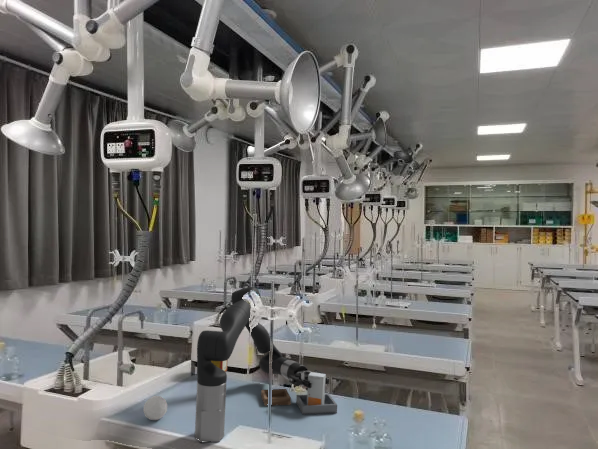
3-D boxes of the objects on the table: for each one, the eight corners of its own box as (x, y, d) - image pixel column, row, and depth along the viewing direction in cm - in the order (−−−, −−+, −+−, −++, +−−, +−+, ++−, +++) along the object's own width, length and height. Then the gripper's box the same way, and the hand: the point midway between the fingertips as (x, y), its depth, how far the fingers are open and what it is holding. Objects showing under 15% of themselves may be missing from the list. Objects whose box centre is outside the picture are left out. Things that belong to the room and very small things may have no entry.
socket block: (290, 404, 171) (290, 398, 171) (264, 405, 169) (265, 399, 169) (285, 395, 180) (286, 388, 180) (261, 396, 178) (261, 389, 178)
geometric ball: (148, 428, 152) (134, 410, 151) (162, 411, 159) (148, 394, 158) (162, 422, 148) (148, 403, 147) (176, 405, 156) (162, 387, 155)
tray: (336, 412, 165) (337, 404, 165) (302, 414, 162) (303, 406, 162) (328, 401, 176) (328, 393, 176) (296, 402, 173) (296, 395, 173)
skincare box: (306, 407, 168) (307, 374, 168) (309, 402, 172) (310, 371, 172) (322, 409, 166) (323, 377, 166) (324, 405, 170) (326, 373, 170)
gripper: (279, 364, 176) (305, 376, 163) (308, 359, 185) (334, 370, 172) (279, 383, 176) (304, 397, 163) (307, 377, 185) (333, 390, 172)
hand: (319, 383), depth 168 cm, fingers open, 8 cm apart
